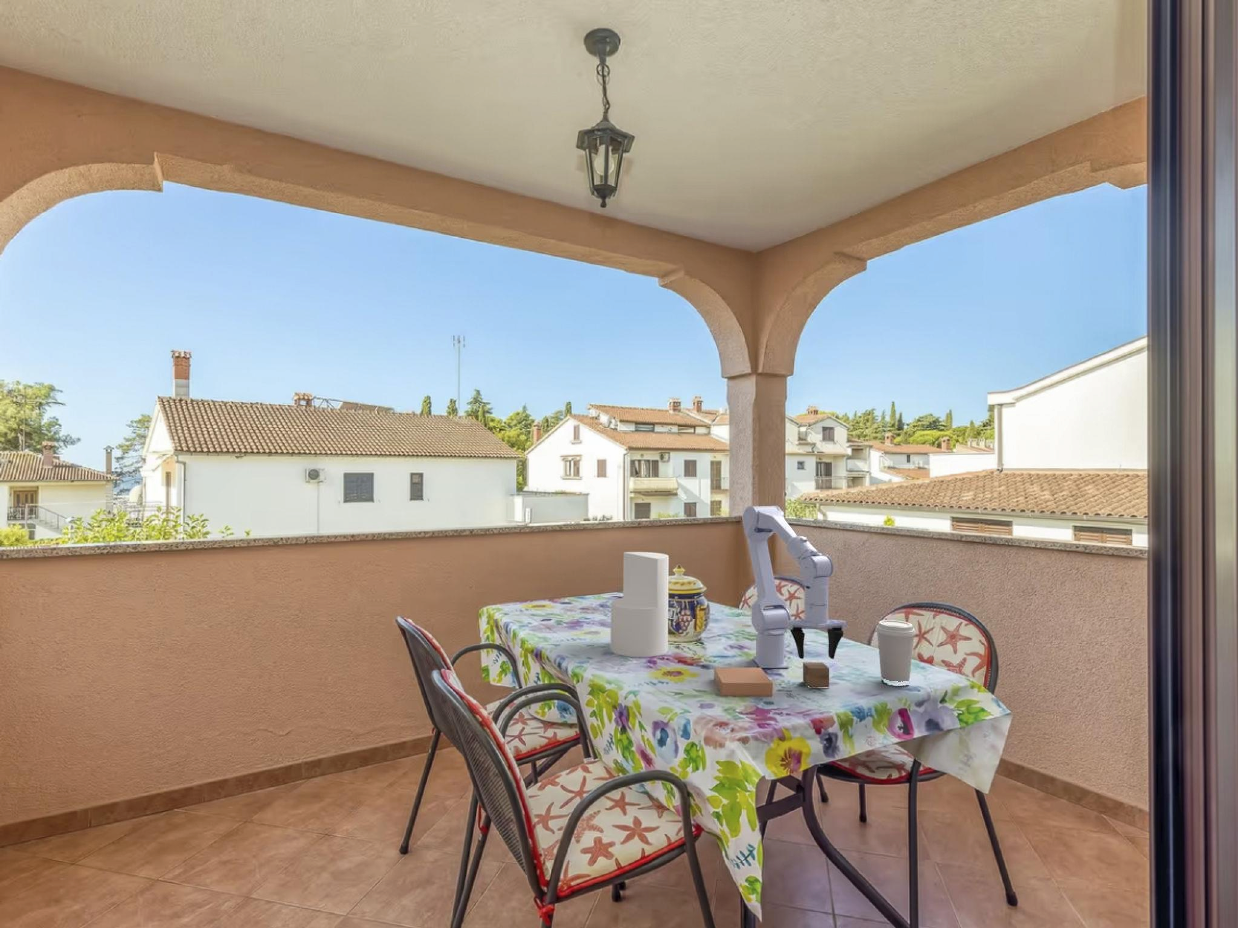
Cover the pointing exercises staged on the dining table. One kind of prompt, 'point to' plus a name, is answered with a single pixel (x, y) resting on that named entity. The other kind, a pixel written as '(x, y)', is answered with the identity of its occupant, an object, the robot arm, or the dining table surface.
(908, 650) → the coffee cup
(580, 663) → the dining table surface
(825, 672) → the walnut block
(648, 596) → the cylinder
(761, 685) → the terracotta plinth
